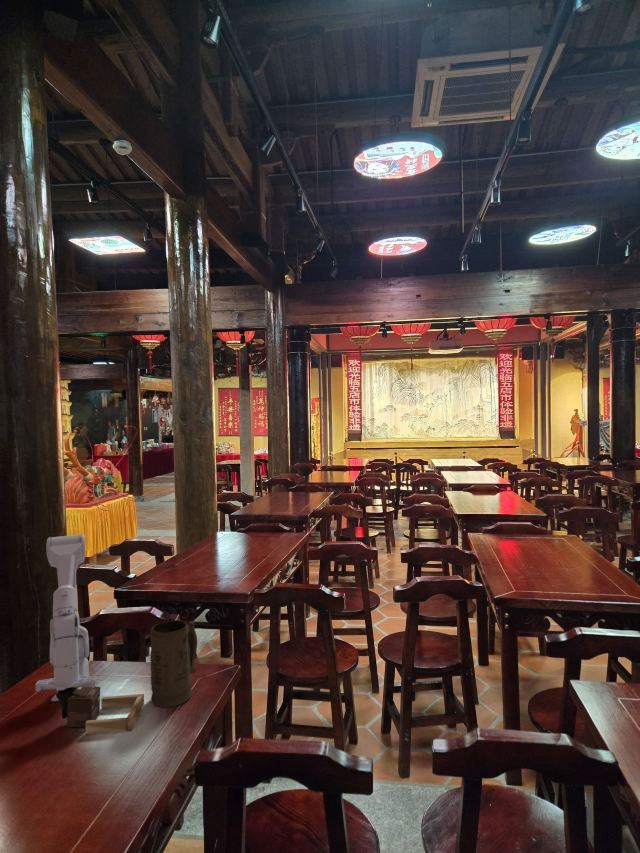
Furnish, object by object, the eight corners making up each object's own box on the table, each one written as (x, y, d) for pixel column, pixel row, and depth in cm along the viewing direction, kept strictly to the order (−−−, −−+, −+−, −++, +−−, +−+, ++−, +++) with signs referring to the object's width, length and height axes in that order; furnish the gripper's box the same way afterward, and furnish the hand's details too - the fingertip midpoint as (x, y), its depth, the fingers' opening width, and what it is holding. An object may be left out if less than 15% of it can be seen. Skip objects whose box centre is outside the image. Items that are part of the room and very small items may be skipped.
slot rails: (103, 707, 140) (102, 696, 140) (144, 704, 141) (143, 693, 141) (85, 734, 127) (85, 723, 127) (130, 731, 128) (130, 719, 128)
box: (90, 728, 130) (91, 698, 130) (66, 727, 130) (67, 698, 130) (100, 714, 136) (101, 686, 136) (76, 714, 136) (77, 685, 136)
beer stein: (174, 712, 136) (175, 633, 137) (141, 705, 140) (141, 628, 141) (207, 687, 151) (207, 616, 152) (175, 682, 154) (176, 612, 155)
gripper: (28, 671, 128) (30, 727, 128) (89, 667, 129) (91, 723, 129) (42, 659, 135) (44, 712, 135) (99, 655, 136) (101, 708, 136)
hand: (68, 716), depth 133 cm, fingers closed, pressing on box
